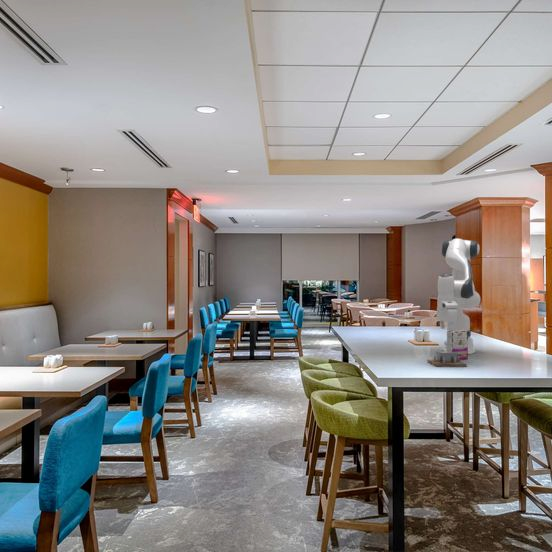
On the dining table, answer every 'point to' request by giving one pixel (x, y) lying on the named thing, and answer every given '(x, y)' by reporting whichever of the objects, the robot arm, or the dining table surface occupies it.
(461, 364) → the pin tray
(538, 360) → the dining table surface
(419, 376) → the dining table surface
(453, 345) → the candy bar box
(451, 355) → the block
